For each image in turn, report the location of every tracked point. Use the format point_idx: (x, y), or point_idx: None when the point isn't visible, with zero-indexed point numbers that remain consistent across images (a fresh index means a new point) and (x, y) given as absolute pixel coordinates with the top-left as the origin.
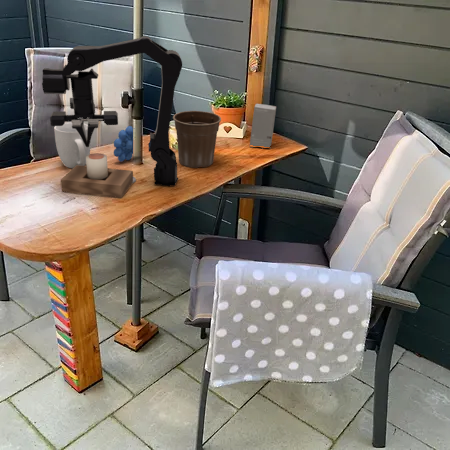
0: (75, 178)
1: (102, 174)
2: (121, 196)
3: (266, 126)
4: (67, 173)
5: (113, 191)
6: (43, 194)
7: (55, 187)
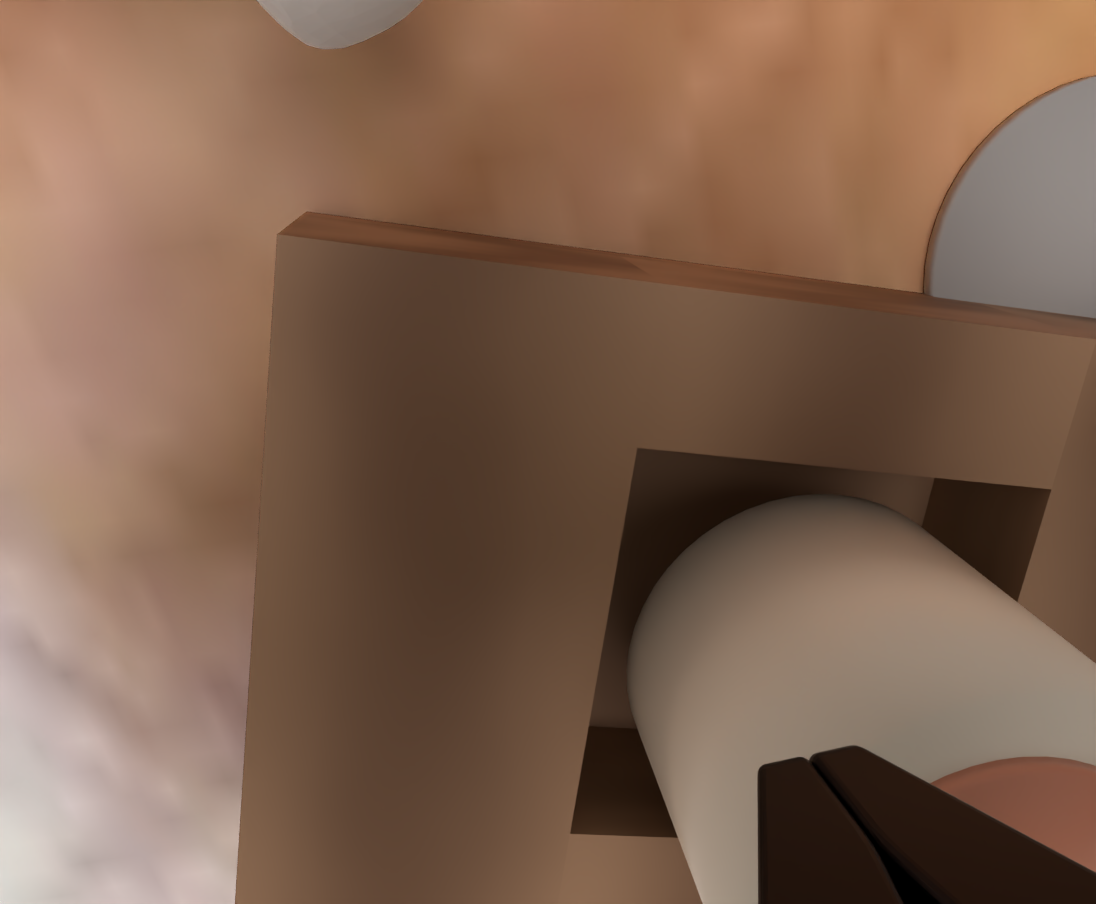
0: (464, 859)
1: None
2: None
3: None
4: (252, 695)
5: None
6: (40, 897)
7: (104, 666)
